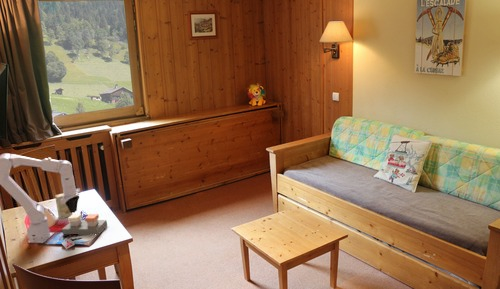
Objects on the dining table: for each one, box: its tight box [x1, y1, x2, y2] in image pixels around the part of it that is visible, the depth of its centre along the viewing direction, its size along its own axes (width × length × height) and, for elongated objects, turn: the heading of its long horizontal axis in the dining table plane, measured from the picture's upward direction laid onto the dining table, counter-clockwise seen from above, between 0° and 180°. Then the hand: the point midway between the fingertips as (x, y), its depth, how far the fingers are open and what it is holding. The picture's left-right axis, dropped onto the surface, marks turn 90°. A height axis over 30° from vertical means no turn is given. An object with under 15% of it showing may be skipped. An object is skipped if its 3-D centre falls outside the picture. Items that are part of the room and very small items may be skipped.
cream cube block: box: [67, 213, 83, 227], centre depth 210 cm, size 5×5×5 cm
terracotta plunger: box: [84, 213, 100, 227], centre depth 209 cm, size 5×5×5 cm
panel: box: [61, 219, 108, 236], centre depth 210 cm, size 10×18×3 cm, turn 82°
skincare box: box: [54, 193, 73, 219], centre depth 227 cm, size 6×4×12 cm
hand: (73, 211), depth 209 cm, fingers closed
